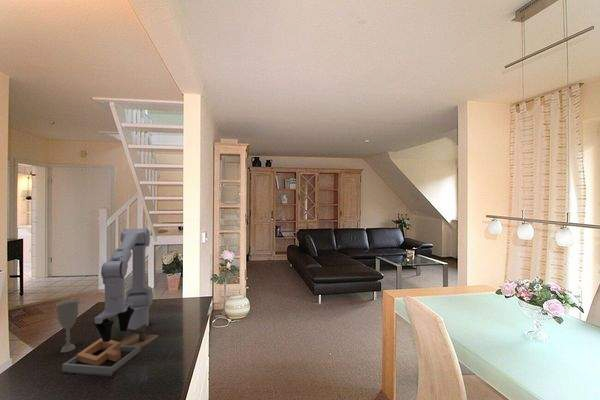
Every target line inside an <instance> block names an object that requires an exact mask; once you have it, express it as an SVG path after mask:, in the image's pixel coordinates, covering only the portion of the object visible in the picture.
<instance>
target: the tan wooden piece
mask: <svg viewBox="0 0 600 400" xmlns="http://www.w3.org/2000/svg"><path fill="white" fill-rule="evenodd" d="M146 328H148V326H147V324H143V325H142V326H140V327H139V328H137V330H136V332H138V333H131V334H129V335H128V336H126V337H125V338H123V339H121V340H120V341H119V342H121V345H124V346H140V347H141V349H143V348H145V347H147V345H149V344H150V343H151V342H152V341H154V340H156V338H158V337H159V336H160V335H159V334H147V333H146V331H145V329H146Z"/></svg>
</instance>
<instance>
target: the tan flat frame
mask: <svg viewBox="0 0 600 400" xmlns="http://www.w3.org/2000/svg"><path fill="white" fill-rule="evenodd" d="M101 347H103V348H107V349H106V350H103V351H102V352H101V353H100V354H98V355H94V354H95V353H96V352H98V351H100V350H99V349H100V348H101ZM120 349H121V342H120V341H117V340H112V339H110V341H109V342H103V341H102V337H100V338H99V339H97V340H96V341H94V342H93V343H91V344H90V345H89V346H87V347H86V348H84V349H82V351H80V352H78V353H77V354H76V356H77V360H78V362H80V363H83V364H86V365H94V366H101V365H102V364H103V363H105V362H106V361H107V360H108V361H112V362H114V363H117V362H118V361H119V360H121V359H122V353H121V352H122V351H119V350H120Z"/></svg>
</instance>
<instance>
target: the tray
mask: <svg viewBox="0 0 600 400" xmlns="http://www.w3.org/2000/svg"><path fill="white" fill-rule="evenodd" d="M106 349H107V348H103V347H101V348H100V349H99V350H98V351H105V350H106ZM141 350H142V348H141V347H140V346H124V345H121V349H120V350H119V351H120V352H129V353H128V354H126V355H125V356H124V357H123V358H122V357H121V358H120V359H119V360H118V361H117V362H114V364H112V366H106V365H98V366H95V365H91V364H81V363H80V364H77V363H78V362H79V361H78V360H77V355H75V356H74V357H72V358H70V359H69V360H68V361H65V362H64V363H62V364H61V373H62V372H67V373H66V374H72V373H76V374H75V375H85V376H97V377H110V378H111V377H113V376H114V375H116V373H117V372H116V371H117V370H118V369H119V368H121V367H122V366H123V365H125V364H126V363H127V362H129V361H130V360H131V359H133V358H134V357H135V356H137V355H138V354H139V353H140V352H142V351H141Z"/></svg>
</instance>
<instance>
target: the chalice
mask: <svg viewBox="0 0 600 400" xmlns="http://www.w3.org/2000/svg"><path fill="white" fill-rule="evenodd" d="M79 303H80V299H67V300H63V301H60V302H57V303H56V304H55V307H56V313H57V314H56V315H57V321H58V323H59V324H60V326H61V327H62V329H65V330H66V332H65V333H64V334H65V335H66V337H65V338H64V340H65V341H66V343H65V344H64V345H63V346H62V348H61V350H60V352H59V353H68V352H71V351H73V350H75V349H76V346H75V344H74V343H71V342H70V341H71V339H72V337H71V336H70V335H71V331H70V329H71V328H73V327H74V324H75V322H76V321H77V318H78V317H79V316H78V315H79Z"/></svg>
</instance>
